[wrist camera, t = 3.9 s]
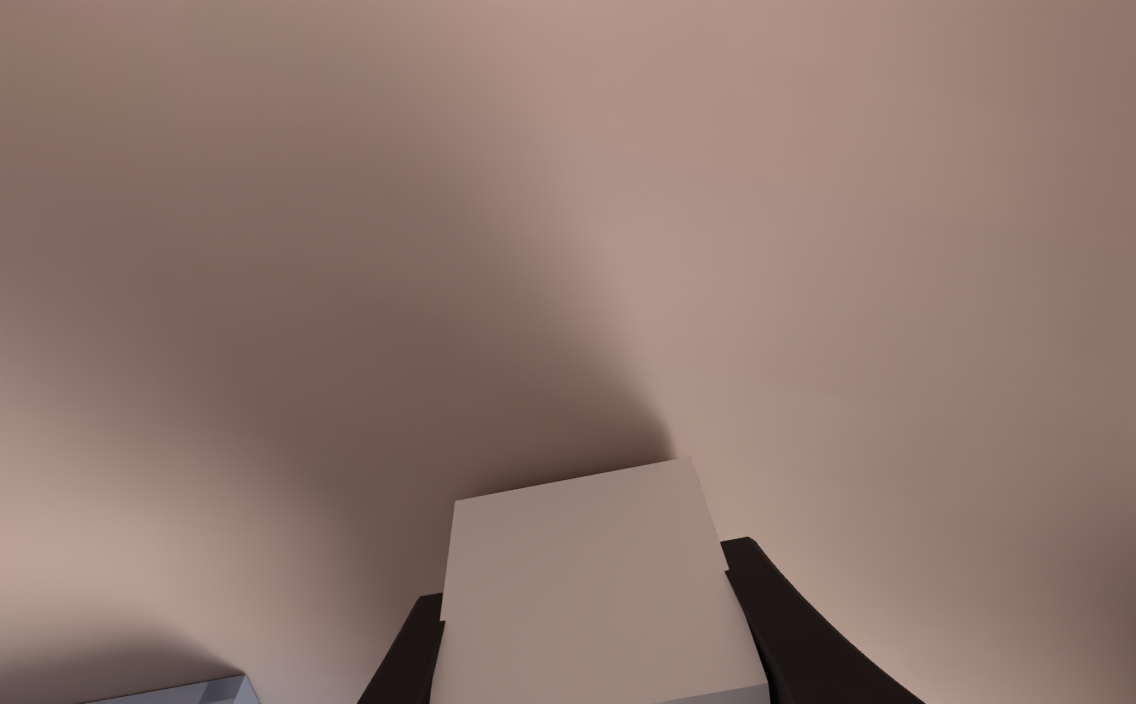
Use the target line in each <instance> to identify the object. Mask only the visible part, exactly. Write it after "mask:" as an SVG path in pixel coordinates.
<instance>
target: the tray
mask: <svg viewBox="0 0 1136 704" xmlns="http://www.w3.org/2000/svg"><path fill="white" fill-rule="evenodd" d="M86 704H260V703H259V701H258V699H257V697H256V695H255V693H254V691H253V689H252V687H251V685H250V683H249V681H248V679H247V677H246V675H241V676H235V677H230V678H224V679H219V680H213V681H208V682H202V683H196V684H191V685H185V686H180V687H174V688H169V689H163V690H158V691H152V692H147V693H141V694H136V695H130V696H124V697H119V698H113V699H108V700H102V701H97V702H91V703H86Z"/></svg>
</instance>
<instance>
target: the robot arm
mask: <svg viewBox="0 0 1136 704" xmlns="http://www.w3.org/2000/svg"><path fill="white" fill-rule="evenodd" d="M720 544H721V547H722V550H723V553H724V556H725V559H726V562H727V565H728V567H729V570H725V571H724V572H725V574H726V576H727V578H728V580H729V582H730V585H731V587H732V589H733V591H734V593H735V595H736V597H737V599H738V602H739V604H740V606H741V608H742V610H743V612H744V614H745V617H746V620H747V623H748V626H749V629H750V631H751V634H752V637H753V640H754V643H755V646H756V649H757V652H758V655H759V658H760V661H761V663H762V666H763V669H764V672H765V675H766V678H767V681H768V686H769V695H770V704H926V703H924V702H923V701H921V700H920V699H919V698H917V697H916V696H915V695H914V694H912V693H911V692H910V691H908V690H907V689H906V688H904V687H903V686H902V685H900V684H899V683H898V682H897V681H895V680H894V679H893V678H892V677H890V676H889V675H888V674H887V673H885V672H884V671H883V670H882V669H880V668H879V667H878V666H877V665H876V664H874V663H873V662H872V661H871V660H870V659H869V658H867V657H866V656H865V655H864V654H863V653H862V652H861V651H859V650H858V649H857V648H856V647H855V646H854V645H853V644H852V643H850V642H849V641H848V640H847V639H846V638H845V637H844V636H843V635H842V634H841V633H839V632H838V631H837V630H836V629H835V628H834V627H833V626H832V625H831V624H830V623H829V622H828V621H827V620H826V619H825V618H824V617H823V616H822V615H821V614H820V613H819V612H818V611H817V610H816V609H815V608H814V607H813V606H812V605H811V604H810V603H809V602H808V601H807V600H806V599H805V598H804V597H803V596H802V595H801V594H800V593H799V592H798V591H797V590H796V589H795V588H794V587H793V585H792V584H791V583H790V582H789V581H788V580H787V579H786V578H785V577H784V575H783V574H782V573H781V572H780V571H779V570H778V569H777V567H776V566H775V565H774V564H773V563H772V562H771V560H770V559H769V558H768V557H767V555H766V554H765V553H764V552H763V550H762V549H761V548H760V547H759V545H758V544H757V542H756V541H754V540H753V539H751V538H750V537H744V538H738V539H733V540H727V541H722V542H720ZM443 593H444V592H443ZM443 593H437V594H432V595H426V596H421V597H420V598H419V599H418V600H417V602H416V603H415V605H414V607H413V608H412V610H411V612H410V614H409V616H408V617H407V619H406V621H405V623H404V625H403V626H402V628H401V630H400V632H399V633H398V635H397V637H396V639H395V641H394V642H393V644H392V646H391V648H390V649H389V651H388V653H387V654H386V656H385V658H384V660H383V661H382V663H381V665H380V666H379V668H378V670H377V671H376V673H375V675H374V676H373V678H372V679H371V681H370V683H369V684H368V686H367V688H366V689H365V691H364V693H363V694H362V696H361V697H360V699H359V701H358V702H357V704H429V703H430V695H431V688H432V680H433V675H434V671H435V667H436V662H437V658H438V653H439V649H440V645H441V640H442V636H443V631H444V627H445V622H446V620H443V621H440V616H441V608H442V600H443Z"/></svg>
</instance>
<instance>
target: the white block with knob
mask: <svg viewBox="0 0 1136 704" xmlns="http://www.w3.org/2000/svg"><path fill="white" fill-rule="evenodd" d="M725 570H729V567H728V565H727V562H726V559H725V556H724V553H723V550H722V547H721V544H720V541H719V538H718V535H717V533H716V530H715V527H714V524H713V521H712V518H711V515H710V512H709V509H708V506H707V503H706V501H705V498H704V495H703V492H702V489H701V486H700V483H699V480H698V477H697V474H696V471H695V469H694V466H693V463H692V460H691V457H685V458H680V459H674V460H669V461H664V462H659V463H653V464H648V465H643V466H637V467H632V468H627V469H621V470H616V471H611V472H606V473H600V474H595V475H590V476H584V477H579V478H574V479H568V480H563V481H558V482H552V483H547V484H542V485H537V486H531V487H526V488H521V489H515V490H510V491H505V492H499V493H494V494H489V495H484V496H478V497H473V498H468V499H462V500H457V501H455V506H454V513H453V521H452V529H451V537H450V545H449V553H448V561H447V569H446V577H445V585H444V593H443V600H442V608H441V616H440V621H443V620H446V622H445V627H444V631H443V636H442V640H441V645H440V649H439V653H438V658H437V662H436V667H435V671H434V675H433V680H432V688H431V695H430V703H429V704H770V695H769V686H768V681H767V678H766V675H765V672H764V669H763V666H762V663H761V661H760V658H759V655H758V652H757V649H756V646H755V643H754V640H753V637H752V634H751V631H750V629H749V626H748V623H747V620H746V617H745V614H744V612H743V610H742V608H741V606H740V604H739V602H738V599H737V597H736V595H735V593H734V591H733V589H732V587H731V585H730V582H729V580H728V578H727V576H726V574H725V572H724V571H725Z"/></svg>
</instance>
